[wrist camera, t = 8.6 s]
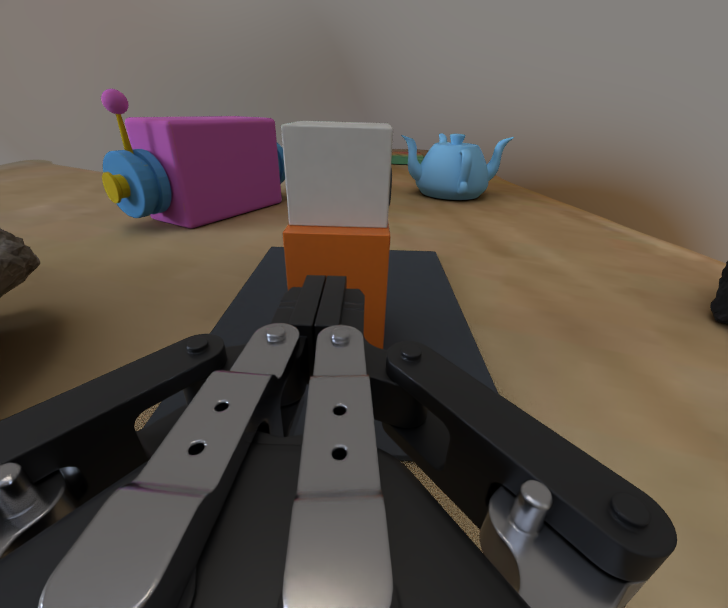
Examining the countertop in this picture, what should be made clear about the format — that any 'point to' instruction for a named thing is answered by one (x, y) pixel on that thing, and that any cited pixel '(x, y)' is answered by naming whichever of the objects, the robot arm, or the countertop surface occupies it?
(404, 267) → the mat
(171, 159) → the toy
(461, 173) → the teapot
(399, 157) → the terrain model
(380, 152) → the truck
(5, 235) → the fossil
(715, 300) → the rock
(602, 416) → the countertop surface
